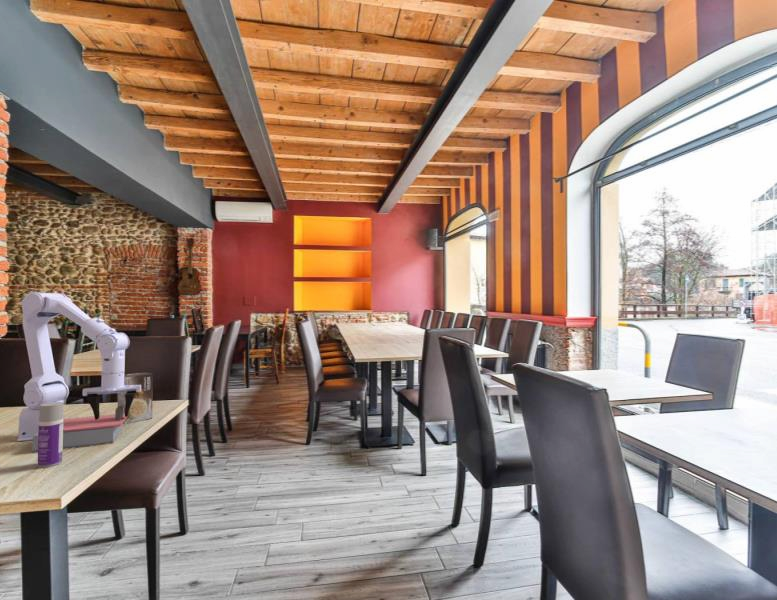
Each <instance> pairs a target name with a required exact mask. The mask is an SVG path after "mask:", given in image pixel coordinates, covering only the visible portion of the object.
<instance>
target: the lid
mask: <svg viewBox="0 0 777 600" xmlns="http://www.w3.org/2000/svg"><path fill="white" fill-rule="evenodd" d="M126 418H127V417H125V413H124V414H123V406H118V405H117V407H116V408H115V414H104V415H100V416H99V419H96V420H95V416H94V415H93V416H82V417H71V418H63V432H68V431H78V430H87V429H97V428H107V427H116V426H121V425H122V426H123V425H124V424H123V422H124V421H125V419H126Z"/></svg>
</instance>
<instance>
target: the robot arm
mask: <svg viewBox="0 0 777 600" xmlns="http://www.w3.org/2000/svg"><path fill="white" fill-rule="evenodd" d="M20 306H21V308H22V309H21V310H22V320H21V321H22V327H23V333H24V338H25V345H26V350H27V355H28V360H29V361H28V362H29V365H30V371H31V378H30V379H29V380H28V381H27V382H26V383H25V384H24V386H23V387H24V393H23V396H22V397H23V399H22V400H23V402H24V404H25V406H26V408H23V409H21V411H20V414H19V418H18V434H17V435H18V437H17V439H16V440H17V442H23V441H33V436H34V435H35V434H36V433H38V432H39V414H40V405H41V404H45V403H50V402H63V405H64V404H65V400H66V399H67V398H68V397H69V394H70V390H69V386H68V385H67V384H66V383H65V379H64V377H63V376H62V375H60V374H58V373H57V372H56V367H55V362H54V357H53V350H52V345H51V339H50V333H49V329H48V323H49V322H50V321H51V320H53V319H55V318H56V317H58V316H59V315H60V314H61V315H62V316H64V317H66V318H67V319H68V320H70V321H72V322H73V323H75V324H77V325H78V326H80V331H81V333H82V334H83V335H85V336H86V337H87V338H89V340H92V341H93V342H94V343H96V346H97V350H98V351H99V352H100V357H101V382H100V383H101V384H100V386H97V387H88V388H87V387H86V388H83V389H82V397H86V401H87V402H88V404H89V405H90V407H91V409H92V412H93V416H95V420H96V419H99V416H101V415H100V414H101V413H100V402H101V395H109V394H111V395H112V394H118V393H125V392H127V393H126V394H125V403H126V407H125V417H127V416H128V415H129V410H130V407H131V404H132V401H133V399H134V397H135V395H136V393H137V392H140V391H141V385H124V375H125V372H126V371H125V370H126V369H125V367H126V365H125V363H126V361H125V360H126V350H127V349H128V348H129V347H130V344H131V341H130V338H129V336H128V335H127V334H126V333H125V332H118V331H117V330H116V329H115V328H114V327H113V328H112V327H111V326H109V325H107V324H106V323H105V320H104V319H103V318H97V317H94V318H91V317H90V316H89V315H87V314H86V313H85V312H84V311H83V310H81V308H79V307H78V306H77V305H76V304H75V303H73V302H72V298H71V297H69V296H67V295H66V294H65V293H63V292H62V293H61V292H58V293H57V292H56V293H55V292H39V291H31V292H28V293H27V294H26V295H25V296H24V298H22V300H21V301H20ZM119 390H120V391H119Z"/></svg>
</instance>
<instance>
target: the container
mask: <svg viewBox="0 0 777 600" xmlns="http://www.w3.org/2000/svg"><path fill="white" fill-rule="evenodd" d="M63 419H64V404H63V402H50V403H45V404H41V405H40V414H39V432H38V452H37V468H39V467H46V468H50V467H49V466H52V467H55V466H58V465H60V464H62V463H63V451H64V449H63ZM61 462H62V463H61ZM59 463H60V464H59ZM57 464H58V465H57ZM54 465H55V466H54Z"/></svg>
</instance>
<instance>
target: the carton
mask: <svg viewBox="0 0 777 600" xmlns="http://www.w3.org/2000/svg"><path fill="white" fill-rule="evenodd" d="M122 430H123V424H122V425H121V426H116V427H107V428H97V429H87V430H78V431H68V432H63V450H65V448H68V449H73V448H72V447H76V448H80V447H79V446H84V447H90V445H93V446H98V445H97V444H101V445H106V444H105V443H110V444H114V442H115V441H114V440H116V439H117V437H118V436H119V435H120V433H121V432H122ZM32 453H38V433H36V434H35V435H34V436H33V440H32Z"/></svg>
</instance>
